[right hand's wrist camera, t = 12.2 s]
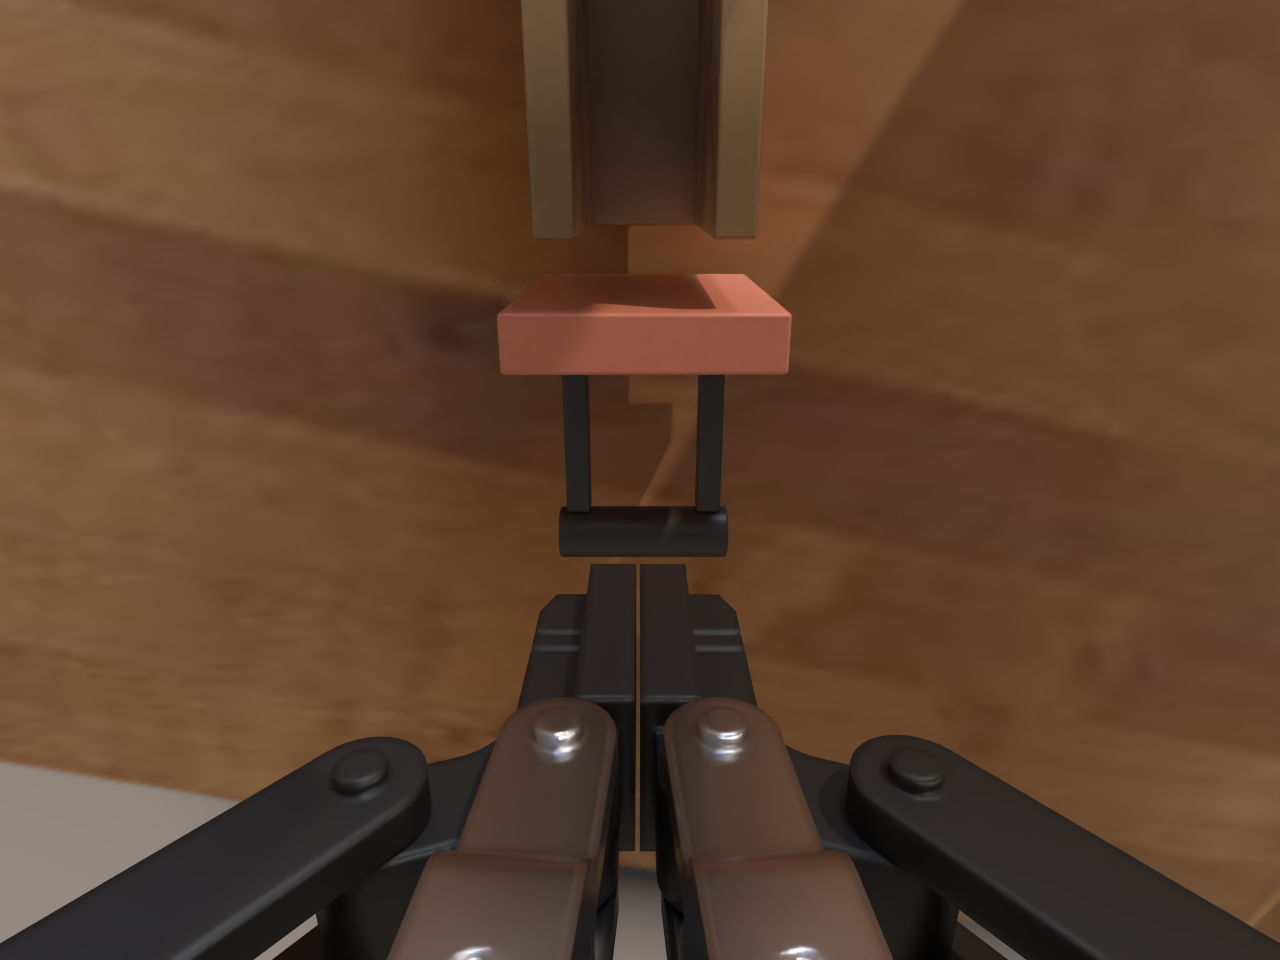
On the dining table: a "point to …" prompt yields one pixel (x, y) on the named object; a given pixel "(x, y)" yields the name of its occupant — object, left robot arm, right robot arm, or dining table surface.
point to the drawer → (644, 195)
